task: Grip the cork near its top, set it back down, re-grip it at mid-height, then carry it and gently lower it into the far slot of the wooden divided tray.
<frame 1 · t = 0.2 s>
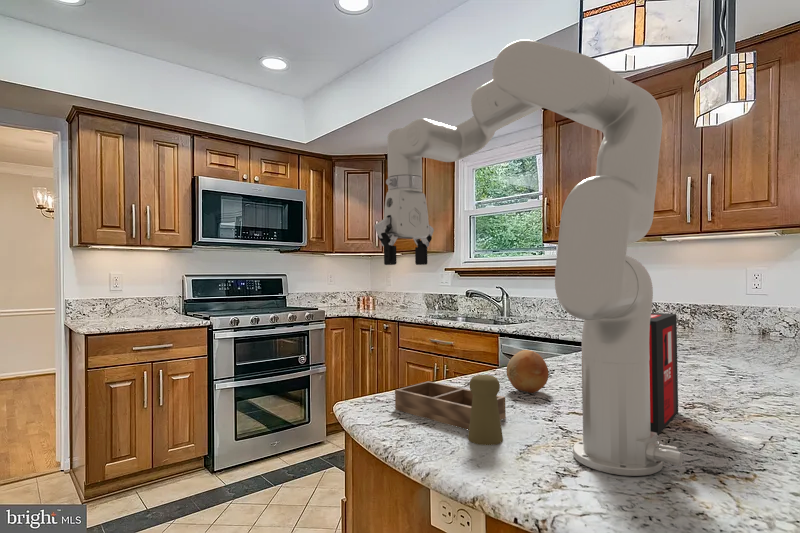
hand: (406, 264, 105), 31 cm above the countertop, tool pointing down, fingers open, 9 cm apart
onion: (527, 393, 115), on the countertop
cleaning product box: (643, 420, 94), on the countertop
wooden divided tray: (448, 413, 99), on the countertop
cork: (485, 440, 84), on the countertop
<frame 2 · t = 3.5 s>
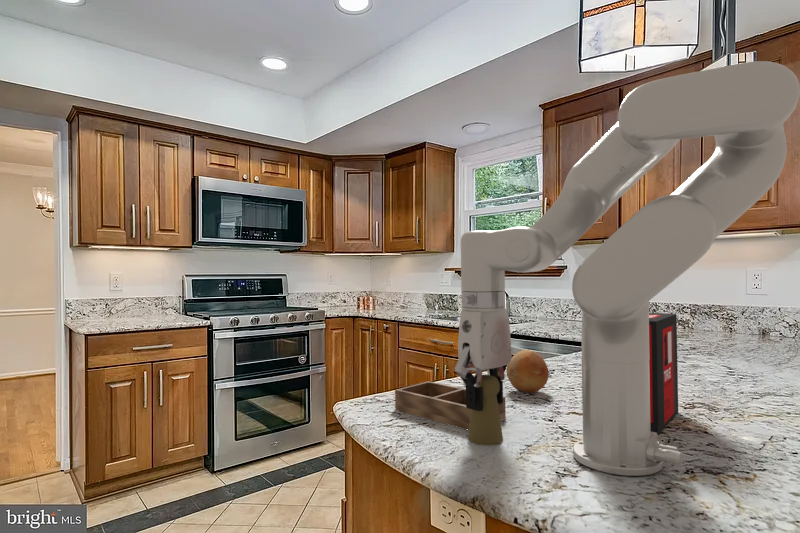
hand: (484, 404, 84), 6 cm above the countertop, tool pointing down, fingers closed on cork, 5 cm apart
cork: (485, 440, 84), on the countertop, touching gripper
everything else where it was.
when the fingers open (7 cm above the countertop, at t = 5.3 s): cork stays where it is, on the countertop.
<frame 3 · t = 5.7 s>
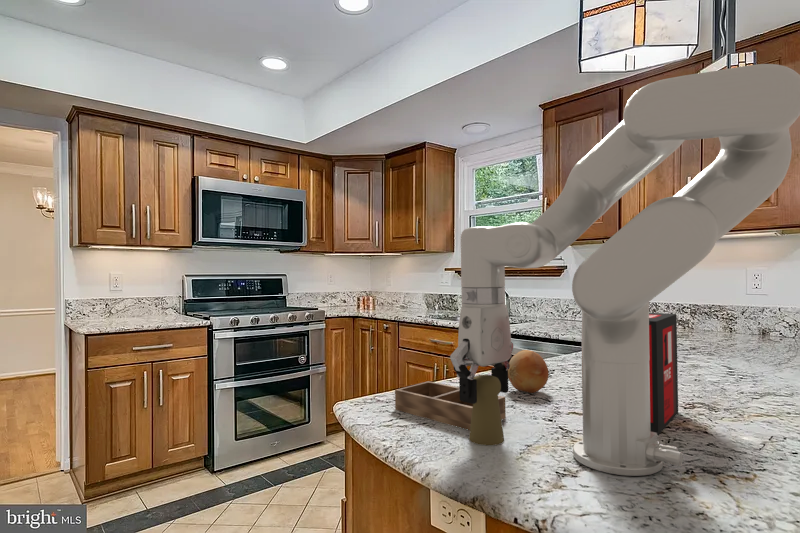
hand: (484, 396, 84), 7 cm above the countertop, tool pointing down, fingers open, 9 cm apart
cork: (486, 440, 84), on the countertop
everything else where it was.
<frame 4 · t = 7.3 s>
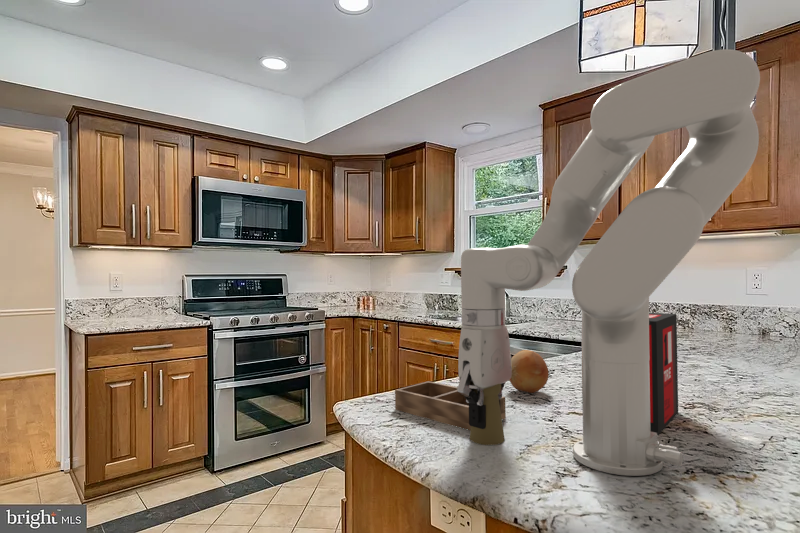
hand: (484, 422, 84), 3 cm above the countertop, tool pointing down, fingers closed on cork, 3 cm apart
cork: (487, 440, 84), on the countertop, touching gripper
everything else where it was.
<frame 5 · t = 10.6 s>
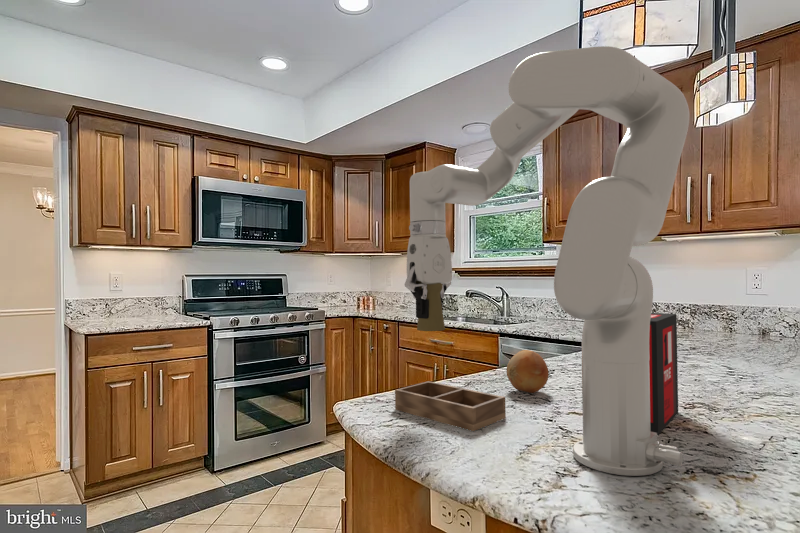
hand: (429, 316, 102), 20 cm above the countertop, tool pointing down, fingers closed on cork, 3 cm apart
cork: (431, 330, 102), point 17 cm above the countertop, touching gripper
everything else where it was.
when the fingers open (5 cm above the countertop, at t = 13.9 s): cork moves 1 cm, resting on wooden divided tray.
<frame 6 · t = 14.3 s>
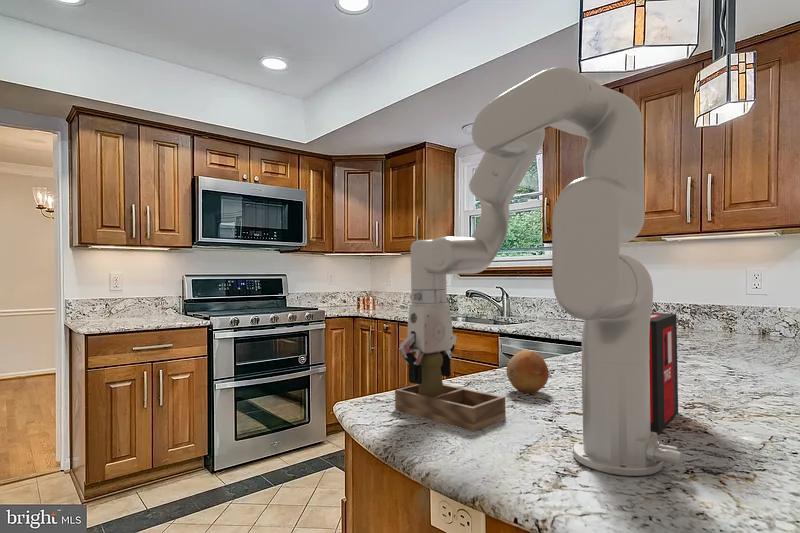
hand: (430, 379, 102), 6 cm above the countertop, tool pointing down, fingers open, 8 cm apart
cork: (431, 404, 102), point 1 cm above the countertop, touching wooden divided tray
everything else where it was.
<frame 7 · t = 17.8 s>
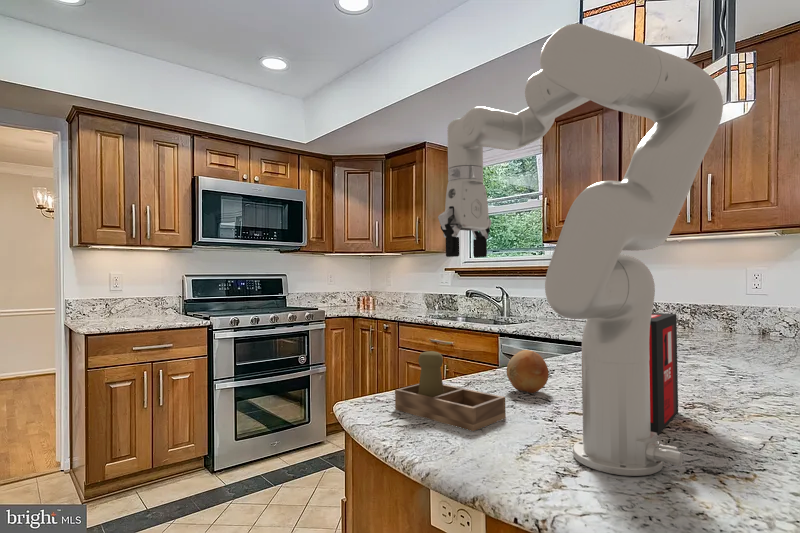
hand: (466, 256, 104), 32 cm above the countertop, tool pointing down, fingers open, 9 cm apart
nothing on the countertop moved.
at the end: cork 0.3 cm from the target spot on the wooden divided tray, point 1.0 cm above the wooden divided tray's base; cork tilted 0°; the gripper is holding nothing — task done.
